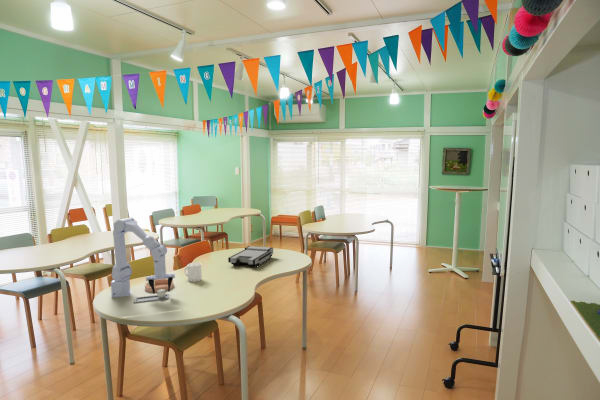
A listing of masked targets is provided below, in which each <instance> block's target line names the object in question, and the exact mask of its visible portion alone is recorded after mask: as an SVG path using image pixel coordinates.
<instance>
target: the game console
mask: <svg viewBox="0 0 600 400" xmlns="http://www.w3.org/2000/svg"><path fill="white" fill-rule="evenodd" d="M273 254H274V247H267V246H255V245H252V246H251V245H248V246H246V247H244V250H241V251H239V252H237V253H235V254H233V255H231V256H228V258H227V261H228V262H227V263H230V264H231V265H232V266H236V265H241V266H242V264H243V265H245V264H247V266H249V267H250V266H256V267H255V268H258V267H257V266H259V265H260V266H261V264H262V263H263V264H265V263H266V262H268V261H269V260H271V259H272V256H273ZM270 258H271V259H270ZM268 259H269V260H268ZM267 260H268V261H267ZM265 261H266V262H265ZM264 262H265V263H264ZM244 263H245V264H244ZM263 264H262V265H263ZM260 266H259V267H260Z"/></svg>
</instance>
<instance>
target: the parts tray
mask: <svg viewBox="0 0 600 400" xmlns="http://www.w3.org/2000/svg"><path fill="white" fill-rule="evenodd" d="M169 295H170V293H165V296H166V297H165V298H160V299H158V294H154V295H144V296H138V297H134V301H133V304H138V303H146V302H157V301H164V300H165V301H167V300H169Z"/></svg>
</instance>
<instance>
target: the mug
mask: <svg viewBox="0 0 600 400" xmlns="http://www.w3.org/2000/svg"><path fill="white" fill-rule="evenodd" d="M183 272H184V275H185V276H186V277H187V280H188V282H190V283H197V282H200V281H202V276H203V275H202V263H201V262H190V263H188V264H187V265H186V266H185V267H184V271H183Z"/></svg>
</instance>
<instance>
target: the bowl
mask: <svg viewBox="0 0 600 400" xmlns="http://www.w3.org/2000/svg"><path fill="white" fill-rule="evenodd" d="M154 281H155V287H154V289H155V293H157V291H158V290H161V289H164V290H165V292H167V291H168V279H158V280H154ZM174 285H175V284H174V280H172V283H171V286H170V290H171V289H173V288H174V287H175V286H174ZM144 291H146V292H148V293H153V291H152V288H151V287H148V284H147V282H146V283H145V284H144Z"/></svg>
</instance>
